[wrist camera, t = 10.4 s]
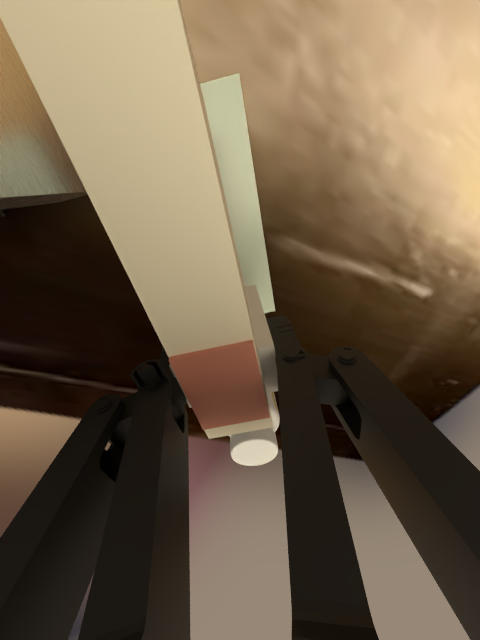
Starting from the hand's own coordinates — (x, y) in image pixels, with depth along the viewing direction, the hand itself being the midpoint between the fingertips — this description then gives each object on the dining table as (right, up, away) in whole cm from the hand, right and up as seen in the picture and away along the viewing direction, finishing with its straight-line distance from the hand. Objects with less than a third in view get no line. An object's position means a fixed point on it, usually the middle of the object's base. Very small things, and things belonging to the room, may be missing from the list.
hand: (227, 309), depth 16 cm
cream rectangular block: (-1, +4, -2) cm, 4 cm away
